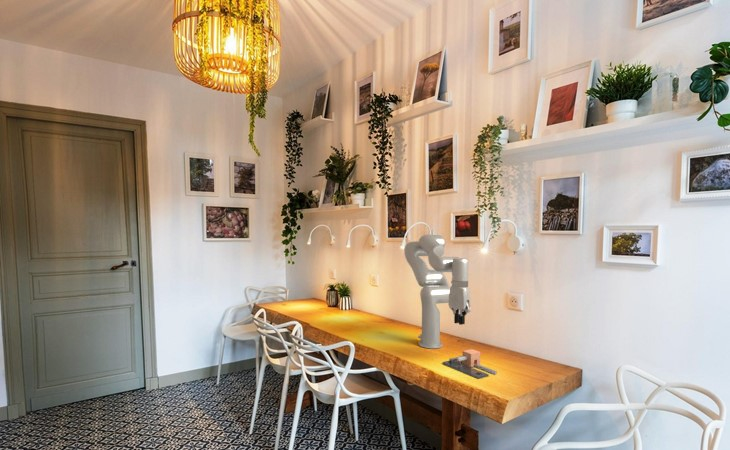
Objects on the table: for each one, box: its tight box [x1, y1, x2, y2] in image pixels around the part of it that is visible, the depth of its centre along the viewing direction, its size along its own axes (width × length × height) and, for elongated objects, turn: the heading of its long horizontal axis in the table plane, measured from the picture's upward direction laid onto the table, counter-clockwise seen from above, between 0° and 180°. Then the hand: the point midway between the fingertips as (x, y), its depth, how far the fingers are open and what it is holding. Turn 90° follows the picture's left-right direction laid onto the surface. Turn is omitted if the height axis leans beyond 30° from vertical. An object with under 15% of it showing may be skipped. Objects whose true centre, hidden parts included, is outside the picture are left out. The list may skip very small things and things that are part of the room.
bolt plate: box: [442, 360, 489, 380], centre depth 165 cm, size 21×6×1 cm, turn 32°
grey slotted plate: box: [448, 355, 498, 375], centre depth 167 cm, size 21×9×2 cm, turn 32°
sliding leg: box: [456, 348, 481, 368], centre depth 170 cm, size 5×12×6 cm, turn 122°
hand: (459, 323), depth 178 cm, fingers closed
